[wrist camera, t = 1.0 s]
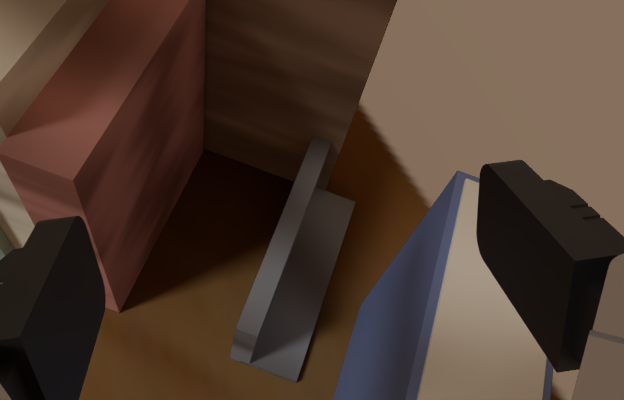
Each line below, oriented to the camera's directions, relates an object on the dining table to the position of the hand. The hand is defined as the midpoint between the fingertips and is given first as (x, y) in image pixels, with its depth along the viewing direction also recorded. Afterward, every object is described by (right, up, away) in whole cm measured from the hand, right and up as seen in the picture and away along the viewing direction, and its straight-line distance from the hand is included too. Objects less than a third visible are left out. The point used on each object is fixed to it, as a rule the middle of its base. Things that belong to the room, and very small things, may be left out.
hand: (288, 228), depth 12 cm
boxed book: (+3, -10, +18) cm, 20 cm away
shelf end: (-7, 0, +21) cm, 22 cm away
